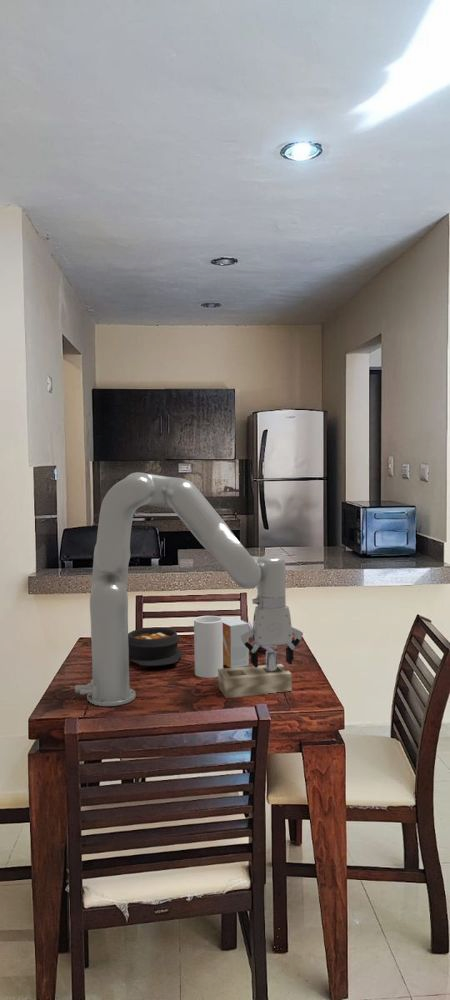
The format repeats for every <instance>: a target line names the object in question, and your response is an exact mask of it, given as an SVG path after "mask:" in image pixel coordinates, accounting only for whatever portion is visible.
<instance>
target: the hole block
mask: <svg viewBox="0 0 450 1000" xmlns="http://www.w3.org/2000/svg"><path fill="white" fill-rule="evenodd" d="M217 678H218V679H217V680H218V681H217V682H218V683H217V684H218V685H217V686H218V689H219V691H220V692H221V693H222V695H223V696H224V698H225V699H229V698H241V697H251V696H252V697H253V696H261V695H262V694H265V695H269V694H268V693H275V694H277V693H276V692H285V691H292V690H293V689H292V687H293V686H292V673H291V672H290V670H289V669H287V668H286V667H285V665H283V663H277V672H273V673H266V664H264V665H258V667H254V666H253V665H252V666H244V667H238V668H229V667H227V668H223V669H218V677H217ZM292 692H293V691H292ZM262 696H263V695H262Z"/></svg>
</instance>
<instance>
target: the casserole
mask: <svg viewBox="0 0 450 1000" xmlns="http://www.w3.org/2000/svg"><path fill="white" fill-rule="evenodd" d="M177 633H178V632H176V630H174V629H172V628H166V627H144V628H139V629H135V630H132V631H129V632H128V647H129V662H132V663H134V664H137V665H139V666H142V667H161V666H167V665H174V664H176V663H177V662H179V660H180V658H181V656H183V654H184V652H183V650H182V649H181V648H178V644H179V642H180V640H181V638H180V637H179V636H178V634H177Z"/></svg>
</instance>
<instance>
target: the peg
mask: <svg viewBox="0 0 450 1000" xmlns="http://www.w3.org/2000/svg"><path fill="white" fill-rule="evenodd" d="M277 664H278V652H277V650H274V649H273V650H266V651H265V665H266V673H273V672H277Z"/></svg>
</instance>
